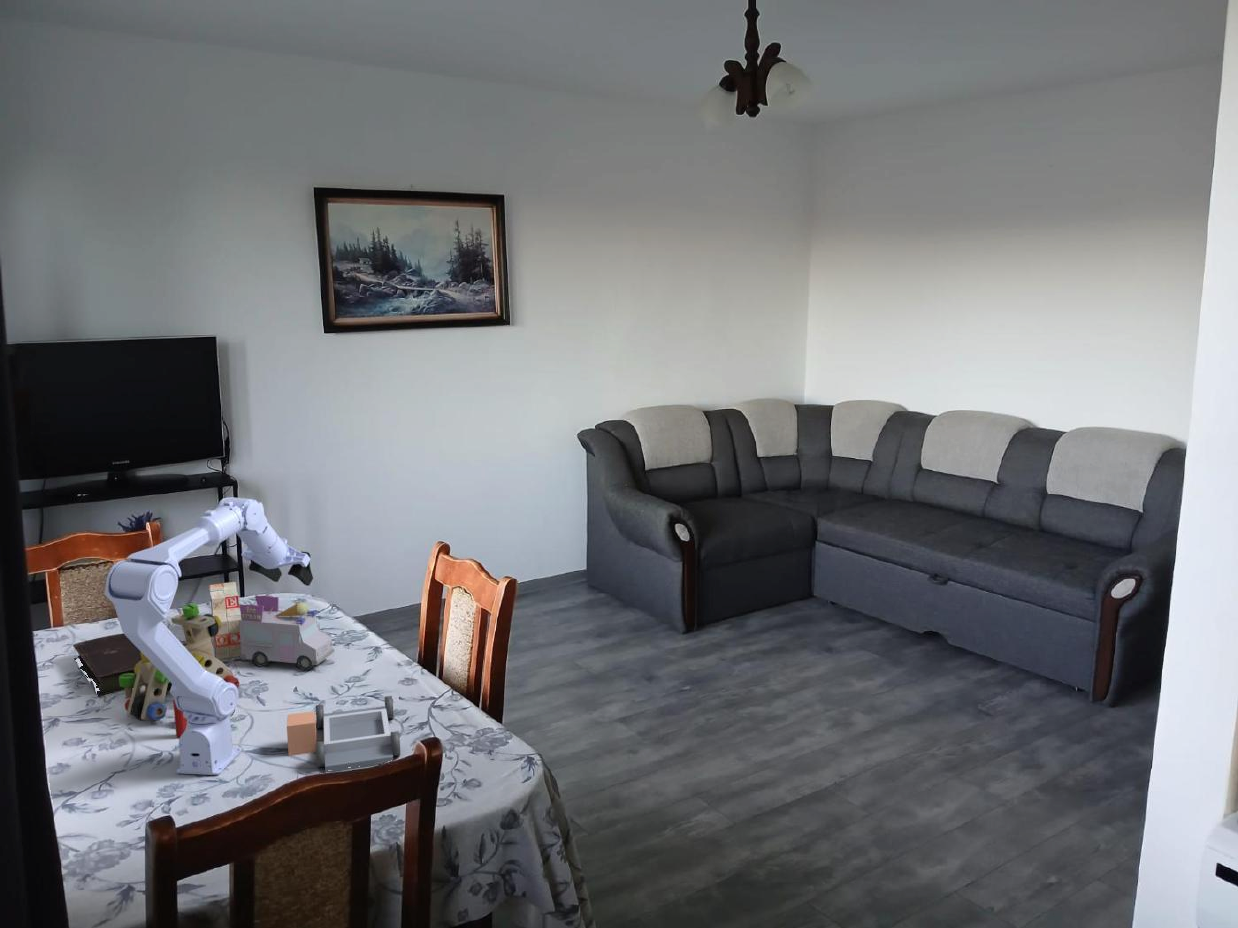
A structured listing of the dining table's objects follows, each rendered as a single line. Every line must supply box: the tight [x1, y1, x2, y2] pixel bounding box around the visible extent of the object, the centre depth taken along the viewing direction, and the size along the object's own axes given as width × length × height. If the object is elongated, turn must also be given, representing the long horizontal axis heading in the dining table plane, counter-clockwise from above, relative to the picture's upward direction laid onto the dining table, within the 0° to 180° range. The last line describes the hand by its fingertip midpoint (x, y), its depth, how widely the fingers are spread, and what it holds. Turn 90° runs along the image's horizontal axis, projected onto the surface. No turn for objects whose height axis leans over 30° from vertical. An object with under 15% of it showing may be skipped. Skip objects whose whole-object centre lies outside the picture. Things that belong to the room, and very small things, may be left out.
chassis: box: [315, 695, 401, 773], centre depth 182 cm, size 22×15×4 cm
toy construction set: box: [119, 602, 240, 739], centre depth 193 cm, size 27×22×21 cm
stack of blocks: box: [209, 581, 242, 660], centre depth 230 cm, size 21×6×12 cm, turn 25°
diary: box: [72, 632, 142, 697], centre depth 215 cm, size 19×25×5 cm
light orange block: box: [286, 710, 318, 757], centre depth 178 cm, size 5×5×6 cm
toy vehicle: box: [239, 594, 335, 672], centre depth 217 cm, size 9×20×15 cm, turn 78°
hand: (294, 579), depth 194 cm, fingers open, 7 cm apart
